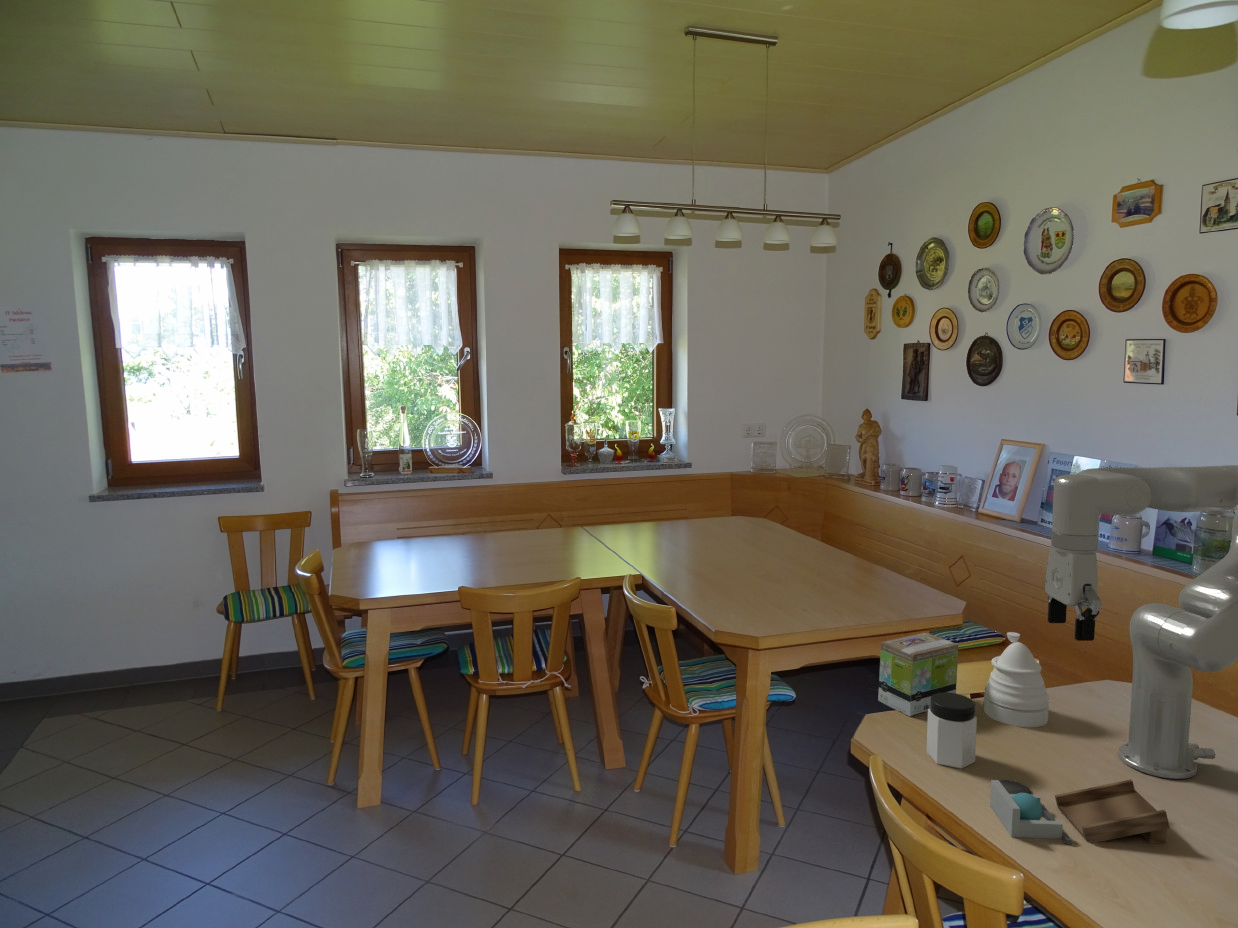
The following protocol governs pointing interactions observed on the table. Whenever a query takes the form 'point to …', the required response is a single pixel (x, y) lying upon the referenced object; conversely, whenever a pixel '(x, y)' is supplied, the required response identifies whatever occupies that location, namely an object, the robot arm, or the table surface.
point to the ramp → (1113, 813)
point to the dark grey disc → (1014, 787)
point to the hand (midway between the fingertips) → (1070, 631)
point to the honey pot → (1016, 688)
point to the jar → (951, 730)
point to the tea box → (916, 671)
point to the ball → (1028, 806)
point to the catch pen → (1011, 816)
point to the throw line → (1050, 818)
